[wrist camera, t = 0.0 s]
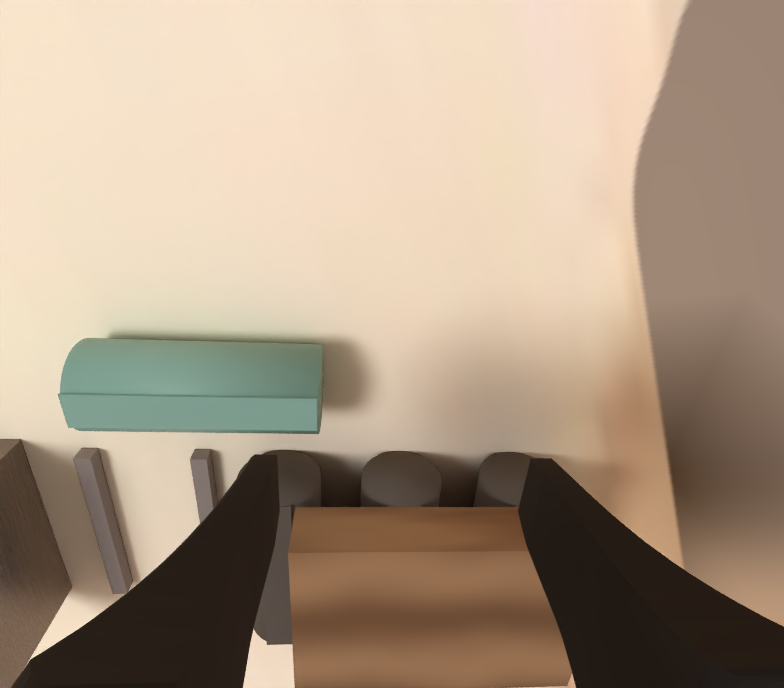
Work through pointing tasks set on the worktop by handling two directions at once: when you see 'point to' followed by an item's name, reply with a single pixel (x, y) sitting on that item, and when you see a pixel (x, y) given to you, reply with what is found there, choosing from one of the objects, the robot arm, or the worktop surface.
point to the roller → (192, 386)
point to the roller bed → (299, 489)
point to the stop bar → (25, 564)
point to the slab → (419, 600)
